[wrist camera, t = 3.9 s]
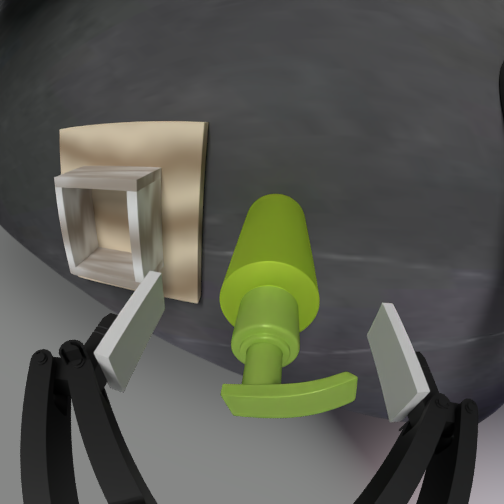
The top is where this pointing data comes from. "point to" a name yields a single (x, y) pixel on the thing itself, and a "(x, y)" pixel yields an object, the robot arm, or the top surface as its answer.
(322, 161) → the top surface
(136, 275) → the dispenser caddy
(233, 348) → the soap dispenser
